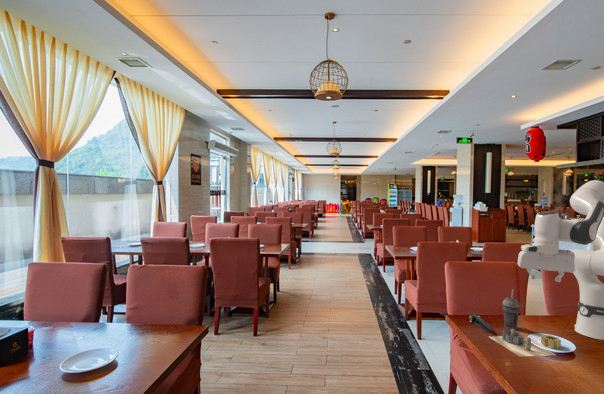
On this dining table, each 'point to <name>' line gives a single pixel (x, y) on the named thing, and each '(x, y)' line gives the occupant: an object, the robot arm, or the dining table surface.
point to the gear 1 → (513, 337)
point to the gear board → (523, 347)
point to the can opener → (479, 322)
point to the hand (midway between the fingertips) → (544, 280)
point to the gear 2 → (551, 341)
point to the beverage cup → (510, 312)
